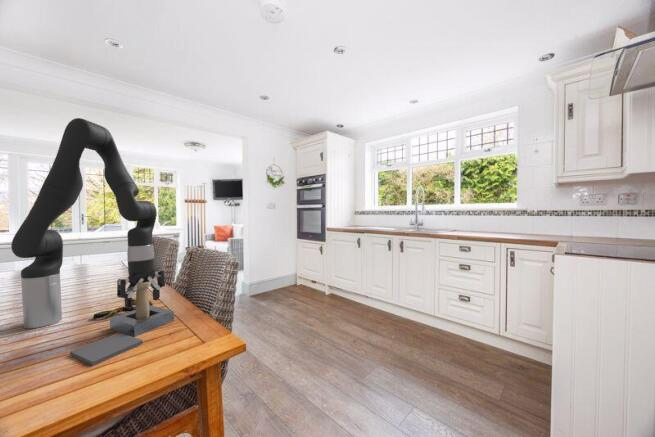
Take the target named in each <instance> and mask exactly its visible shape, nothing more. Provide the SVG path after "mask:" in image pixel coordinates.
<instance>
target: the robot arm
mask: <svg viewBox="0 0 655 437" xmlns="http://www.w3.org/2000/svg"><path fill="white" fill-rule="evenodd" d="M85 149H88V150H92V151H94V152H96V153H97V155H98V156H99V157H100V158H101V160H102V162H103V164H104V171H103V174H104V175H103V176H104V179H105V181H106V184H107V185H108V186H109V188H110V190H111V192H112V193H113V195H114V197H115V201H116V204H117V210H118V212H119V214H120V216H121V217H122V218H123V219H125V220H127V221H128V222H137V223H136V225H135V227H133V228H131V229H129V230H128V231H127V234H126V235H127V236H126V237H127V252H126V254H127V255H126V256H127V273H128V276H127V277H126V278H119V279H117V285H116V286H117V288H116V289H117V290H116V297H118V298H120V299H124V307H126V308H127V309H132V308H133V307H134V305H133V302H132V300H133V297H132V296H133V295H134V293H136V290H137V289H138V288H137V284H141V283H143V282H147V281H151V285H150V286H149V287H151V289H152V300H153V301H159V299H160V296H161V293H160V290H161V289H162V288H163V287H165V286H166V282H165V272H164V270H156V271H155V269H156V268H155V267H156V266H155V249H154V243H153V242H154V240H153V239H154V238H153V231H154V227H155V224H156V220H157V216H158V212H157V207H156V206H155V204H154V203H153V202H151V201H149V200H137V199H136V197H137V196H138V195H139V193H140V190H139V187H138V186H137V184H136V182H135V180H134V179H133V178H132V176H131V175H130V173H129V172H128V168H126V166H125V164H124V162H123V159H122V157H121V155H120V152H119V150H118V147H117V144H116V142H115V140H114V137H113V136H112V134H111V132H110V130H109V129H108V128H106V127H105V126H103V125H100V124H97V123H94V122H92V121H90V120H87V119H85V118H80V117H76V118H73V119H72V120H70V121H69V122H68V123H67V125H66V127H65V129H64V131H63V134H62V137H61V141H60V144H59V147H58V150H57V153H56V155H55V158H54V161H53V162H52V165H51V167H50V169H49V171H48V174H47V176H46V177H45V179H44V181H43V183H42V186H41V188H40V190H39V192H38V195H37V197H36V199H35V201H34V203H33V205H32V207H31V209H30V210H29V213H28V215H26V217H25V219H24V221H23V222H22V224H21V225H20V227H19V228H18V230H17V231H16V232H15V234H14V236H13V238H12V241H11V246H10V247H11V251H12V253H13V254H14V255H15V257H17V258H20V259H21V258H22V259H29V258H31V259H32V258H34V260H33V262H32V263H30V264H29V265H27V266H25V267H24V268H23V269H21V271H20V277H21V278H20V281H21V299H22V302H21V303H22V323H23V328H24V329H37V328H42V327H47V326H50V325H53V324H57V323H58V322H60V321H62V320H63V313H62V310H63V309H62V288H61V267H62V265H63V261H64V260H63V256H64V255H63V254H64V242H63V238H62V236H61V234H60V233H59V232H58V231H56V230H54V229H49V228H50V226H51V225H52V224H53V222H54V221H55V220H57V219H58V218H59V217H60V216H62V215H63V214H65V212H67V211H68V210H69V209H70V208H71V207H72V206H73V205H74V204H75V203H76V201H77V200H78V198H79V197H80V194H81V192H82V190H83V187H84V181H83V180H84V179H83V176H82V172H81V169H80V161H81V158H82V155H83V152H84V151H85ZM155 277H156V280H155ZM128 283H129V284H128ZM127 285H128V287H127V288H126V286H127Z"/></svg>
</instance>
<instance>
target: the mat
mask: <svg viewBox="0 0 655 437" xmlns="http://www.w3.org/2000/svg"><path fill="white" fill-rule="evenodd" d="M143 343H144V340H143V339H140V338H137V337H134V336H131V335H128V334H125V333H122V332H118V333H115V334H113V335H110V336H108V337H105V338H101V339H100V340H97V341H95V342H92V343H88V344H86V345H83V346H81V347H78V348H75V349H73V350H70V351H69V355H70V356H71V357H73V358H76V359H78V360H80V361H81V362H84V363H86V364H89V365H90V366H96V365H98V364H100V363H102V362H105V361H107V360H109V359H111V358H113V357H115V356H116V357H117V356H118V355H120V354H122V353H125V352H127V351H129V350H131V349H134V348H136V347H138V346H141V345H143Z"/></svg>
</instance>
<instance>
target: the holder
mask: <svg viewBox="0 0 655 437" xmlns="http://www.w3.org/2000/svg"><path fill="white" fill-rule="evenodd" d="M174 321H175V311H174V310H171V309H167V308H162V307H158V306H154V305H152V306H151V305H149V317H147V318H144V319H141V320H137V318H136V310H134V311H131V312H129V311H126V312H124V313H122V314H119V315H116V316H113V317H110V318H109V329H110V330H114V331H117V332H118V333H123V334H126V335H129V336H132V337H134V338H136V337H137V336H140V335H142V334H144V333H147V332H149V331H151V330H154V329H157V328H160V327H162V326H164V325H167V324H169V323H171V322H174Z"/></svg>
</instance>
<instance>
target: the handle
mask: <svg viewBox="0 0 655 437" xmlns="http://www.w3.org/2000/svg"><path fill="white" fill-rule="evenodd" d="M150 285H151V281H147V282H143V283H141V284H137V288H138V289H137V290H136V292H135V293H136V294H135V299H136V306H135V307H136V318H137V320H141V319H144V318H147V317H149V301H150V299H149V290H148V289H149V287H151V286H150Z"/></svg>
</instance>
